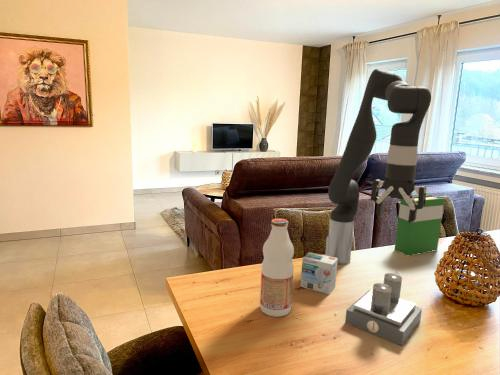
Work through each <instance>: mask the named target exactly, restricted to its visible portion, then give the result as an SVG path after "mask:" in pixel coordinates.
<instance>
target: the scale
mask: <svg viewBox="0 0 500 375" xmlns="http://www.w3.org/2000/svg"><path fill="white" fill-rule="evenodd" d="M370 291H371V290H368V291H367V292H365V293H364V294H363V295H362V296H361V297H359V298H358V299H357V300H355V302H354V303H352V304H351V305H350V306H348V308H346V311H345V320H344V321H345V322H344V323H346V324H349V325H351V326H354V327H355V328H358V329H360V330H363V331H365V332H367V333H370V334H373V335H375V336H377V337H379V338H382V339H385V340H387V341H389V342H392V343H394V344H397V345H399V346H403V345H404V343H405V342H406V341H407V340H408V339H409V337H410V336H411V335H412V333H413V332H414V330H415V329H416V327H417V326H418V325H419V323H420V322H421V319H422V312H423V308H422V307H419V306H415V309H414V310H413V311H412V312H411V313H410V315H409V316H408V317H407V318H406V320H405V321H404V322H403V323H402V324H401V326H398V325H395V324H393V323H390V322H387V321H385V320H382V319H380V318H377V317H374V316H372V315H369V314H366V313H364V312H361V311H359V310H356V309H354V304H356V303H357V302H358V301H359V300H360V299H361V298H363V297H364V296H365V295H366V294H367V293H368V292H370Z"/></svg>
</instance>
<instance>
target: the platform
mask: <svg viewBox="0 0 500 375" xmlns="http://www.w3.org/2000/svg"><path fill="white" fill-rule="evenodd" d="M369 291H370V292H368V291H367V292H368V293H367V292H366V293H367V294H366V295H365V296H364V297H363V298H361V297H360V298H361V299H360V298H359V299H360V300H359V301H358V302H357V303H356V304H354V303H353V304H354V309H356V310H359V311H361V312H364V313H366V314H369V315H372V316H374V317H377V318H380V319H382V320H385V321H387V322H390V323H393V324H395V325H398V326H401V324H402V323H403V322H404V321H405V320H406V318H407V317H408V316H409V315H410V313H411V312H412V311H413V310H414V309H415V306H416V305H417V304H416V303H415V302H412V301H408V300H406V299H402V298H400V299H399V302H396V303H392V302H390V308H389V313H388V314H387V315H379V314H376V313H374V312H372V311H371V302H372V293H373V288H372V289H370V290H369ZM416 307H417V306H416Z"/></svg>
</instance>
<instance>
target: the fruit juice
mask: <svg viewBox="0 0 500 375" xmlns="http://www.w3.org/2000/svg"><path fill="white" fill-rule="evenodd" d="M270 224H271V230H270V232H269V236H268V238H267V239H266V241H265V242H264V243H263V247H262V254H263V260H262V264H261V276H260V296H259V297H260V300H259V307H260V311H261V312H262V313H263V314H265V315H267V316H270V317H275V318H276V317H277V318H280V317H285V316H287V315H288V314H290V312H291V310H292V301H293V298H292V297H293V285H294V284H293V283H294V282H293V281H294V262H293V258H294V255H295V254H294V253H295V248H294V244H293V243H292V241H291V239H290V235H289V231H288V227H289V220H288V219H285V218H273V219H272V220H271V222H270Z"/></svg>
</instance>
